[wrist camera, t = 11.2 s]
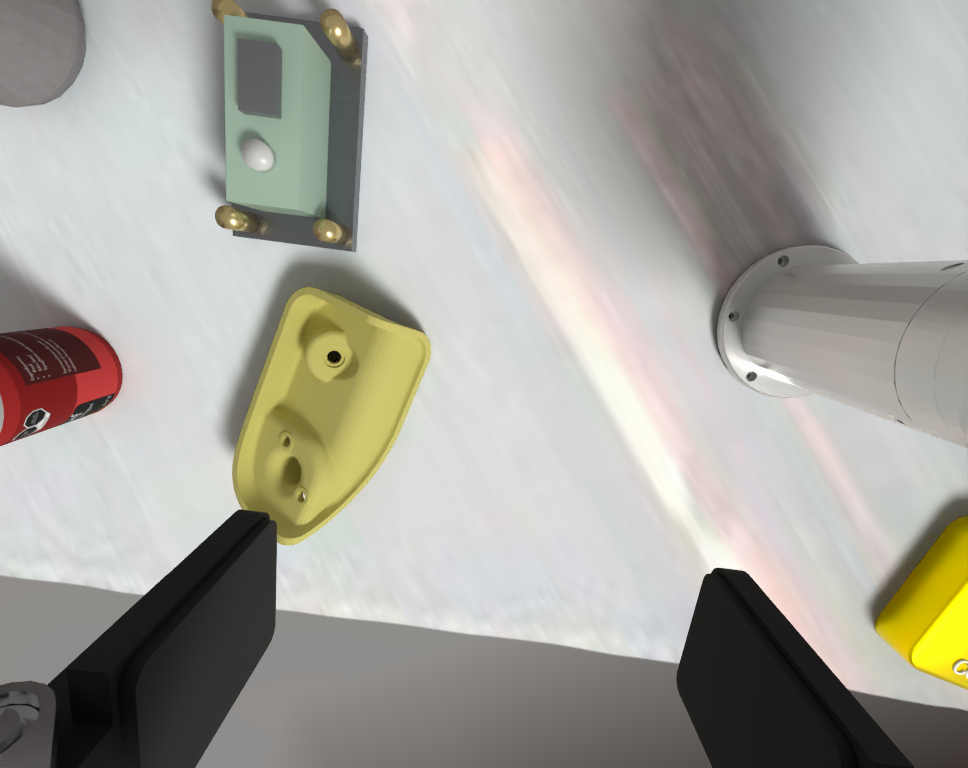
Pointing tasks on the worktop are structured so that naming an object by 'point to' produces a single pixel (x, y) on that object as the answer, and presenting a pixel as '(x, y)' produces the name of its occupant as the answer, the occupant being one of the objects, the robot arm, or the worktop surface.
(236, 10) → the chassis
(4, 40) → the coffee pot
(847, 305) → the robot arm
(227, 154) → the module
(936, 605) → the element tile
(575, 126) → the worktop surface
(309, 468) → the plastic component
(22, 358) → the canned food
